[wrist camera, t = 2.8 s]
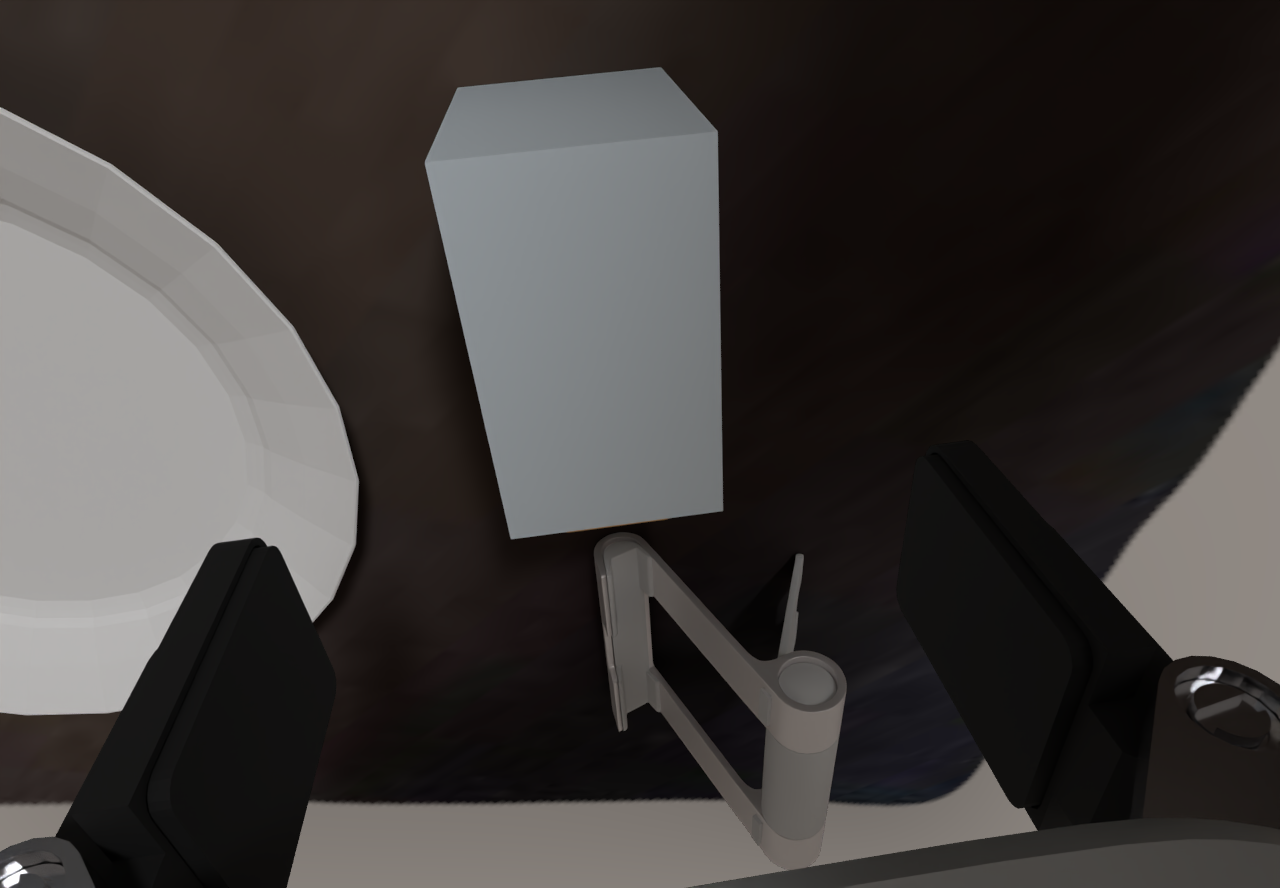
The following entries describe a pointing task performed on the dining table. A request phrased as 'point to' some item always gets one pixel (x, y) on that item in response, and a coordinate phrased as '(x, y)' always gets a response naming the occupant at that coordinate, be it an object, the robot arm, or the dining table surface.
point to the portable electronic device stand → (773, 690)
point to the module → (588, 293)
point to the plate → (140, 427)
